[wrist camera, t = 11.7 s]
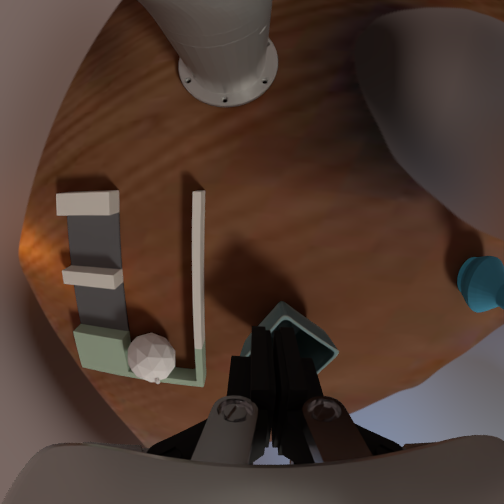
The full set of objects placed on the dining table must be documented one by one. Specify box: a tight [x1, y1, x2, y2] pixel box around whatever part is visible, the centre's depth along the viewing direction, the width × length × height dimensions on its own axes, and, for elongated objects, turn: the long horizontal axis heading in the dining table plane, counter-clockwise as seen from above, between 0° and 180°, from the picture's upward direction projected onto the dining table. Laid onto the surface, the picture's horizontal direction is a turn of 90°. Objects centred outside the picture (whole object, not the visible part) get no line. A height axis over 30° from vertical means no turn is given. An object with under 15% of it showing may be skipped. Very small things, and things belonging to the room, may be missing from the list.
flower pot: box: [240, 301, 339, 374], centre depth 37 cm, size 9×9×9 cm
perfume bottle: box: [457, 256, 504, 312], centre depth 32 cm, size 9×9×15 cm
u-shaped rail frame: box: [56, 190, 206, 387], centre depth 39 cm, size 28×21×3 cm
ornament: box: [128, 333, 175, 384], centre depth 39 cm, size 7×7×8 cm
